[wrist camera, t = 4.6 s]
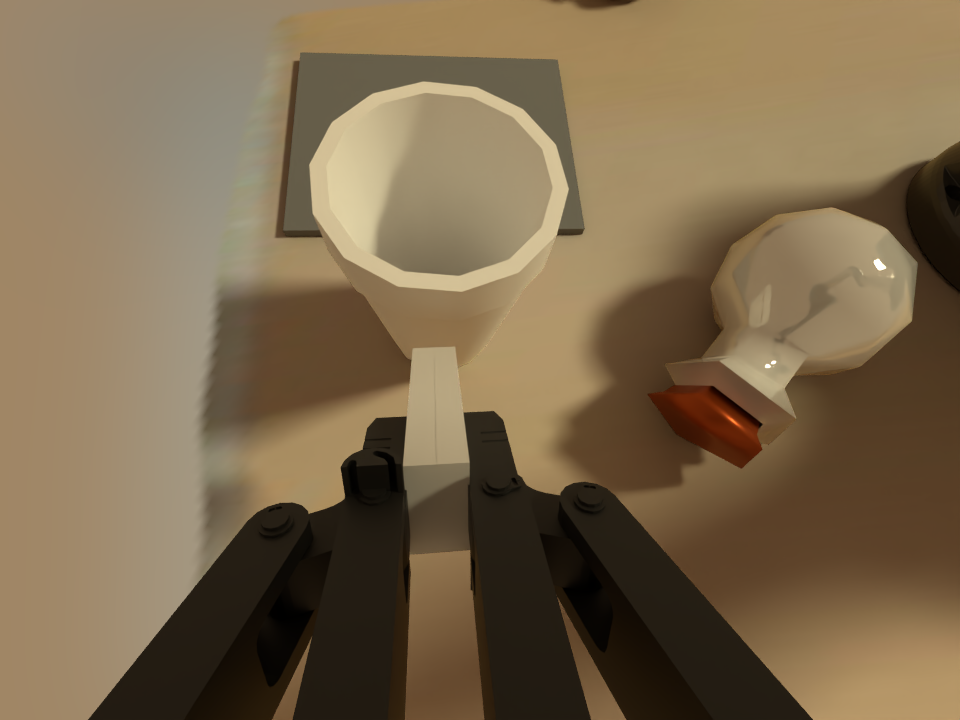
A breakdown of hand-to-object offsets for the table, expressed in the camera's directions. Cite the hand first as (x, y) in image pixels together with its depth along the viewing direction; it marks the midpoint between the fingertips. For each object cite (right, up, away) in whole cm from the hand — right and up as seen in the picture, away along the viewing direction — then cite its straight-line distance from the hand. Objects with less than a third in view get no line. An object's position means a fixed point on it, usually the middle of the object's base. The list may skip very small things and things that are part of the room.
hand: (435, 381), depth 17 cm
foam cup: (-1, +3, +13) cm, 13 cm away
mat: (-2, +17, +17) cm, 24 cm away
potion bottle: (+18, +1, +13) cm, 23 cm away
